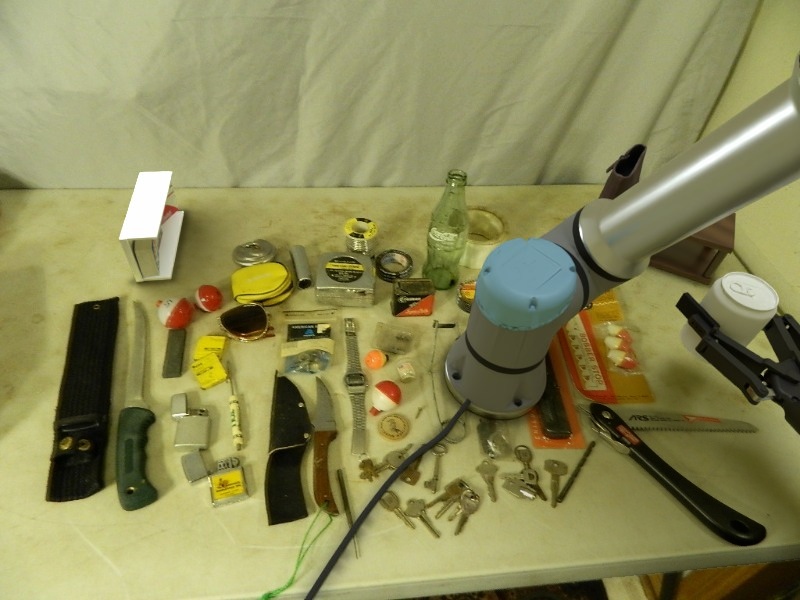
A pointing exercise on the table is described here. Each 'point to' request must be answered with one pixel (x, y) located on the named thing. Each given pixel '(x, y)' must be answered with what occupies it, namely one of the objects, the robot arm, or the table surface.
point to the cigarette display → (152, 227)
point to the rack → (699, 251)
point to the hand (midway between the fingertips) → (705, 293)
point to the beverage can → (735, 309)
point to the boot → (624, 172)
